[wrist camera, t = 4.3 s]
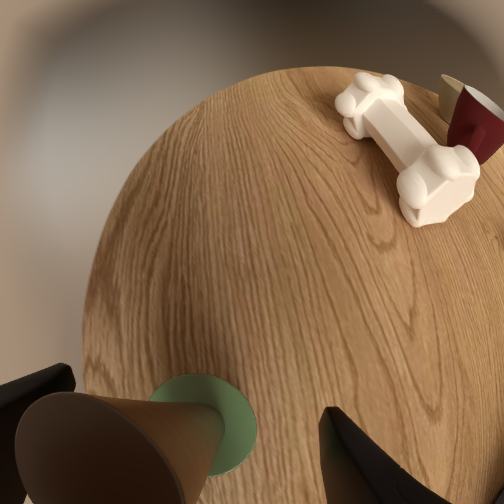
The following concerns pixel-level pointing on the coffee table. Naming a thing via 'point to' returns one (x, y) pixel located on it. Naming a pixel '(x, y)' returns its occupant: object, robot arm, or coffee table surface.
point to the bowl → (500, 498)
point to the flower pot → (448, 96)
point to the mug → (476, 124)
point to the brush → (134, 443)
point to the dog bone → (409, 150)
